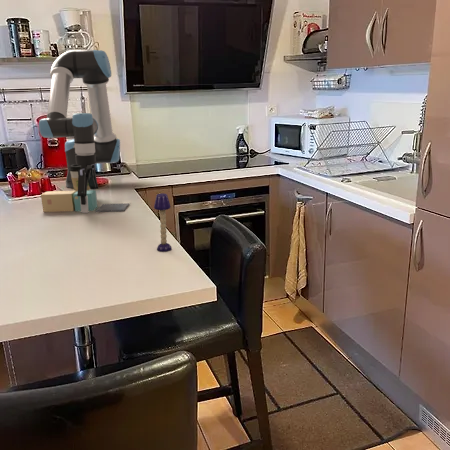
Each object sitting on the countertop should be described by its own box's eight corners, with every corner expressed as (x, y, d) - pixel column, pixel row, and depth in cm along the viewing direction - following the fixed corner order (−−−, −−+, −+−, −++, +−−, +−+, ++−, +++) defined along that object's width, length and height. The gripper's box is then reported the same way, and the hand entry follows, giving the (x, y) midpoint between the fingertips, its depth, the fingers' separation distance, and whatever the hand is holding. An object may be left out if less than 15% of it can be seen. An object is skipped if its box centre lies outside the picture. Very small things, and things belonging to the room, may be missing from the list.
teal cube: (80, 207, 190) (78, 190, 188) (97, 207, 190) (95, 190, 188) (75, 211, 184) (73, 194, 182) (93, 210, 184) (91, 193, 182)
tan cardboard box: (49, 208, 190) (46, 191, 188) (79, 207, 190) (77, 190, 188) (43, 212, 184) (40, 194, 182) (74, 211, 184) (72, 193, 182)
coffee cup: (89, 202, 199) (85, 167, 194) (68, 201, 201) (63, 167, 196) (99, 196, 208) (96, 163, 204) (79, 196, 210) (75, 163, 206)
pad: (102, 205, 192) (102, 203, 192) (129, 204, 192) (129, 203, 192) (95, 212, 181) (95, 210, 181) (123, 211, 181) (123, 209, 181)
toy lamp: (175, 247, 138) (171, 192, 133) (170, 252, 133) (166, 196, 129) (160, 246, 139) (156, 192, 134) (154, 252, 135) (150, 195, 130)
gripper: (85, 150, 192) (89, 201, 198) (65, 158, 169) (70, 216, 175) (103, 150, 192) (106, 201, 198) (85, 158, 169) (90, 216, 175)
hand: (89, 208), depth 186 cm, fingers open, 11 cm apart
